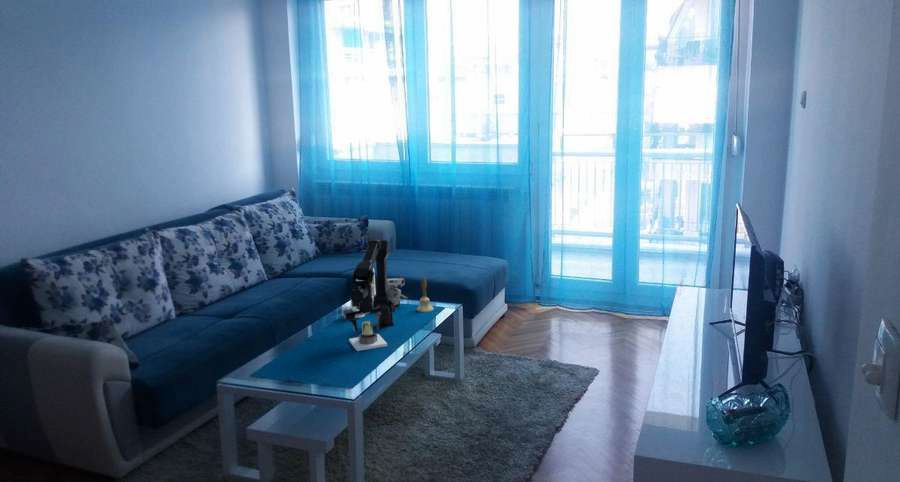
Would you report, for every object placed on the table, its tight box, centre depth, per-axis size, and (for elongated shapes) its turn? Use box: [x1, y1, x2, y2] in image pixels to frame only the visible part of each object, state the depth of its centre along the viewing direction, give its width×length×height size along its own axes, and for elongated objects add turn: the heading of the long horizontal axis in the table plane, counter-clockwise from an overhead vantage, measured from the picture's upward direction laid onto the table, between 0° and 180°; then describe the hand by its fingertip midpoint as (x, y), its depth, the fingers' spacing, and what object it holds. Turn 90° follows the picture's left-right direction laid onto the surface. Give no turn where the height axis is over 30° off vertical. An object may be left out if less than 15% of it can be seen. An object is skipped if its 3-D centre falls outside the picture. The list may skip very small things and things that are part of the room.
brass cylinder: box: [361, 320, 374, 338], centre depth 291 cm, size 4×4×8 cm
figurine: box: [387, 277, 410, 307], centre depth 339 cm, size 9×12×15 cm
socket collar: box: [357, 332, 378, 344], centre depth 291 cm, size 8×8×2 cm
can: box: [349, 297, 366, 319], centre depth 328 cm, size 6×6×12 cm
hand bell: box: [416, 277, 434, 313], centre depth 335 cm, size 8×8×16 cm
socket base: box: [348, 333, 388, 352], centre depth 292 cm, size 13×13×1 cm
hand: (367, 331), depth 291 cm, fingers open, 9 cm apart
